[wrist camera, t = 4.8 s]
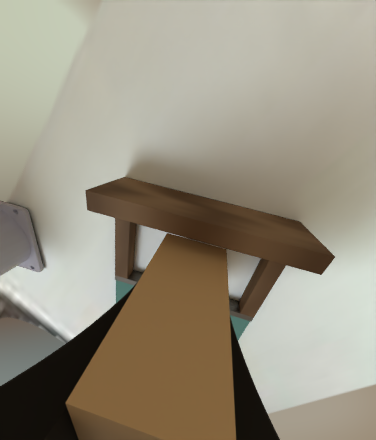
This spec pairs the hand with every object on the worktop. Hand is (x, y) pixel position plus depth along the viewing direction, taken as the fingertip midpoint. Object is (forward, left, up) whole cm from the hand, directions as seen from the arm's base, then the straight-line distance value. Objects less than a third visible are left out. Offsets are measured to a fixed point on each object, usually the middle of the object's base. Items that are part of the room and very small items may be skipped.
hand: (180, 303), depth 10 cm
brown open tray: (0, 0, -5) cm, 5 cm away
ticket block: (0, 0, -2) cm, 2 cm away
